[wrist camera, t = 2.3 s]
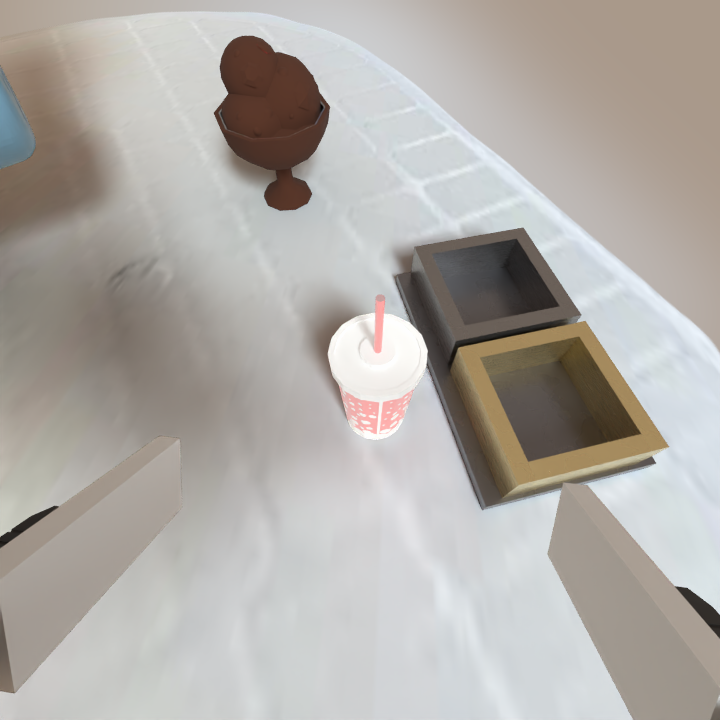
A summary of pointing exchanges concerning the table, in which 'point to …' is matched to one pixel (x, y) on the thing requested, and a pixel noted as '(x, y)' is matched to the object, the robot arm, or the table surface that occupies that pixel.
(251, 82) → the ice cream bowl
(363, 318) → the beverage cup
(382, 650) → the table surface
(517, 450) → the square compartment tray
